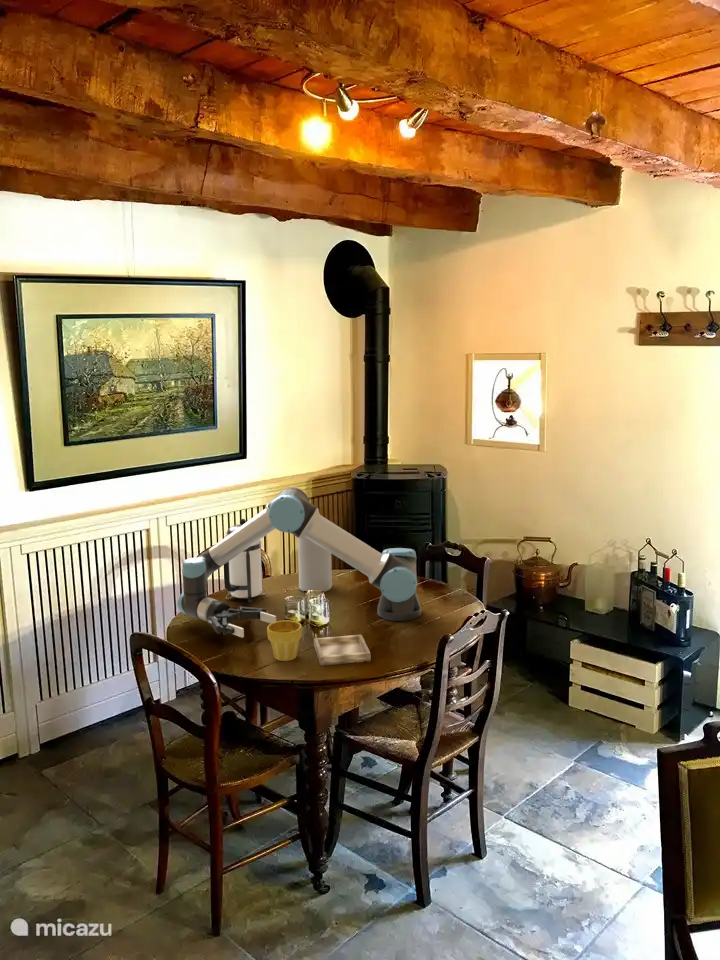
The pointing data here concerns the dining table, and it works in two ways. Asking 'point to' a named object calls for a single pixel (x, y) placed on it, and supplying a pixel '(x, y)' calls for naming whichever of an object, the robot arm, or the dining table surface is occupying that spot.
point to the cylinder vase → (313, 566)
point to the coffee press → (244, 571)
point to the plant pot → (285, 639)
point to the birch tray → (341, 650)
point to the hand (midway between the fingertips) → (259, 626)
